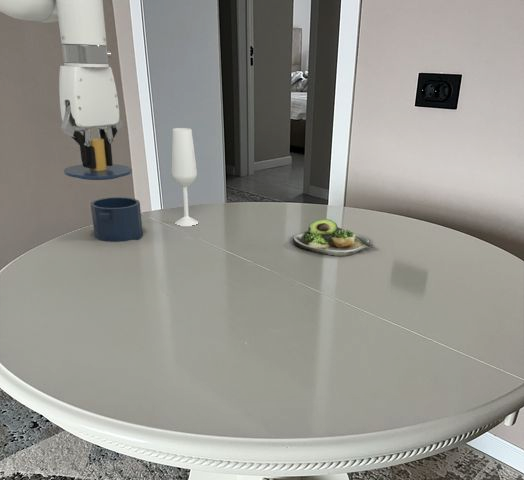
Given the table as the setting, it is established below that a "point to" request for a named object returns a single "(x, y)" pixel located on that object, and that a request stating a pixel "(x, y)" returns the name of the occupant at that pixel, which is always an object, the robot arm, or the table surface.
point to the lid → (98, 166)
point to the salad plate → (331, 239)
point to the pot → (117, 219)
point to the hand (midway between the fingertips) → (97, 165)
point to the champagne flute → (184, 167)
